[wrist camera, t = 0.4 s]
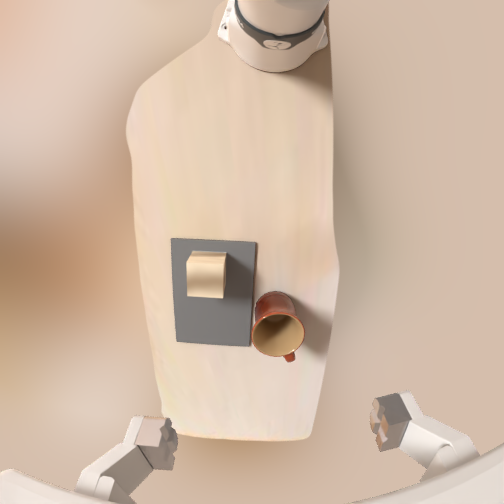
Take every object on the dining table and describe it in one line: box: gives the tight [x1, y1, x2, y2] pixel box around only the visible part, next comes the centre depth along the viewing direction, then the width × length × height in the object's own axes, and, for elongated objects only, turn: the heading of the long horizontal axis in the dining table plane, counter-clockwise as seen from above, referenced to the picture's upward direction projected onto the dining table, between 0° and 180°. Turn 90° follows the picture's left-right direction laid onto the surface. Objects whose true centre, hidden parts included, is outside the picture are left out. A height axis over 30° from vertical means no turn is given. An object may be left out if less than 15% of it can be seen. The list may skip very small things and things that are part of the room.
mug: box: [251, 291, 305, 362], centre depth 54 cm, size 12×9×10 cm
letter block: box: [186, 251, 226, 298], centre depth 52 cm, size 6×6×6 cm
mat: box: [171, 238, 255, 347], centre depth 57 cm, size 22×15×1 cm
